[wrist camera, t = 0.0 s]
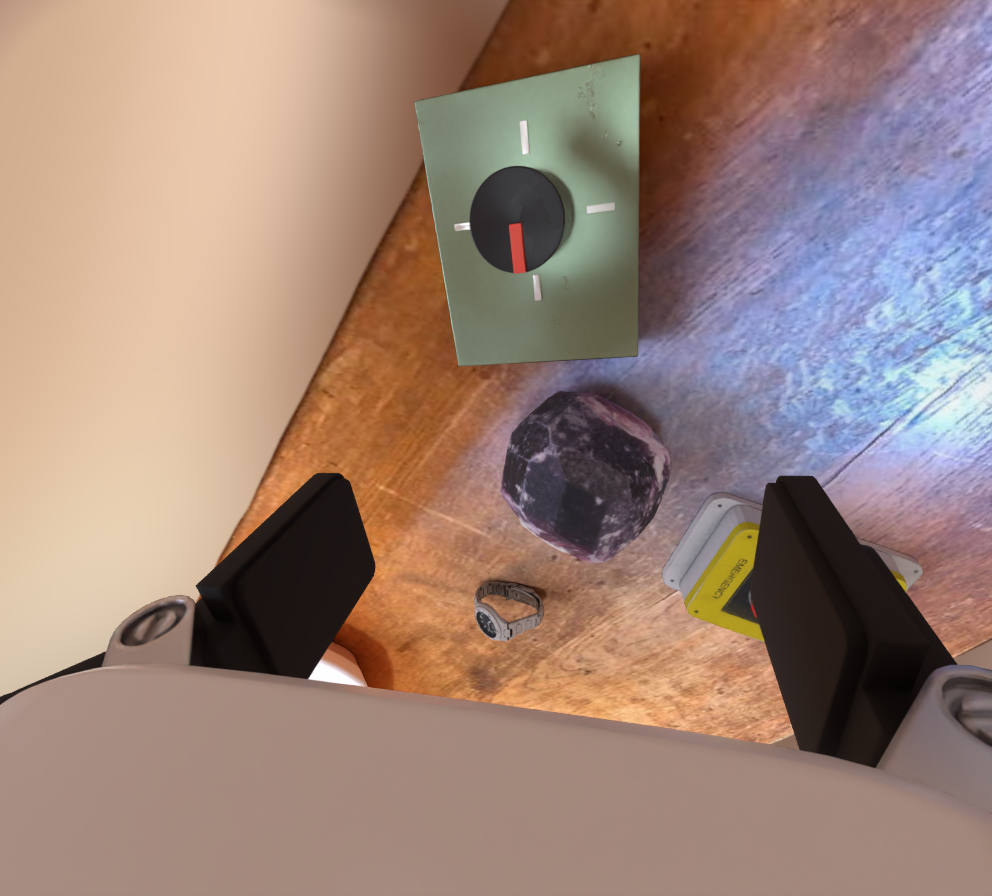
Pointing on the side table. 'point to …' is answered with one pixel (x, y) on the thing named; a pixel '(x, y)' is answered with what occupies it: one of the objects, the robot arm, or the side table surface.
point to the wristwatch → (494, 622)
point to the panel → (595, 199)
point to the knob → (520, 218)
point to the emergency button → (738, 564)
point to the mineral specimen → (585, 475)
